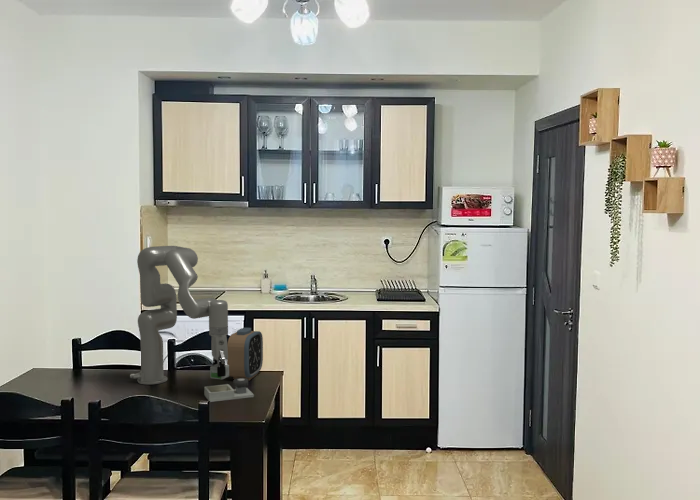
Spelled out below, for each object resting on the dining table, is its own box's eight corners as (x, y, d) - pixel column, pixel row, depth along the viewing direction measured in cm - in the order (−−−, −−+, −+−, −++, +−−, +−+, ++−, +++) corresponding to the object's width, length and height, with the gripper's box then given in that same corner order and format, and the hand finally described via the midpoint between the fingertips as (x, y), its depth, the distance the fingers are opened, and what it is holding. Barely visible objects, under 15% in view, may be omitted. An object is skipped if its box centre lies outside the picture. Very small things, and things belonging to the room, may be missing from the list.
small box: (209, 378, 269) (209, 366, 268) (217, 374, 274) (217, 363, 273) (222, 379, 267) (222, 367, 266) (229, 376, 272) (229, 364, 271)
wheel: (235, 393, 270) (235, 382, 270) (232, 389, 276) (231, 378, 275) (249, 391, 273) (249, 380, 272) (246, 388, 278) (246, 377, 278)
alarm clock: (247, 383, 292) (247, 334, 290) (227, 382, 293) (227, 333, 292) (263, 371, 312) (263, 326, 310) (244, 370, 314) (243, 325, 312)
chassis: (209, 401, 264) (209, 393, 264) (204, 394, 274) (204, 386, 273) (253, 396, 271) (253, 388, 271) (247, 390, 281) (247, 382, 280)
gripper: (232, 334, 262) (233, 378, 263) (223, 326, 278) (223, 368, 279) (213, 335, 259) (214, 380, 261) (205, 327, 275) (205, 369, 276)
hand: (219, 373), depth 270 cm, fingers closed on small box, 7 cm apart
